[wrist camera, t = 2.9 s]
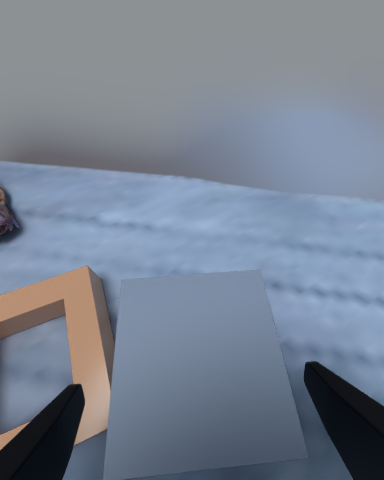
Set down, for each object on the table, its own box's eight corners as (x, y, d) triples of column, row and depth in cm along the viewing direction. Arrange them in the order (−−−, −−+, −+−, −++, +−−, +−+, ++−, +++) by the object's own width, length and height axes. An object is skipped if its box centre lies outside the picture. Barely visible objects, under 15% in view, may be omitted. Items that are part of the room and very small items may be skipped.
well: (129, 414, 15) (116, 424, 12) (-47, 502, 13) (-108, 536, 10) (101, 279, 20) (87, 265, 17) (-30, 325, 18) (-68, 318, 15)
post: (223, 393, 15) (308, 457, 4) (166, 399, 15) (102, 482, 4) (215, 333, 17) (260, 269, 6) (165, 337, 17) (121, 279, 6)
